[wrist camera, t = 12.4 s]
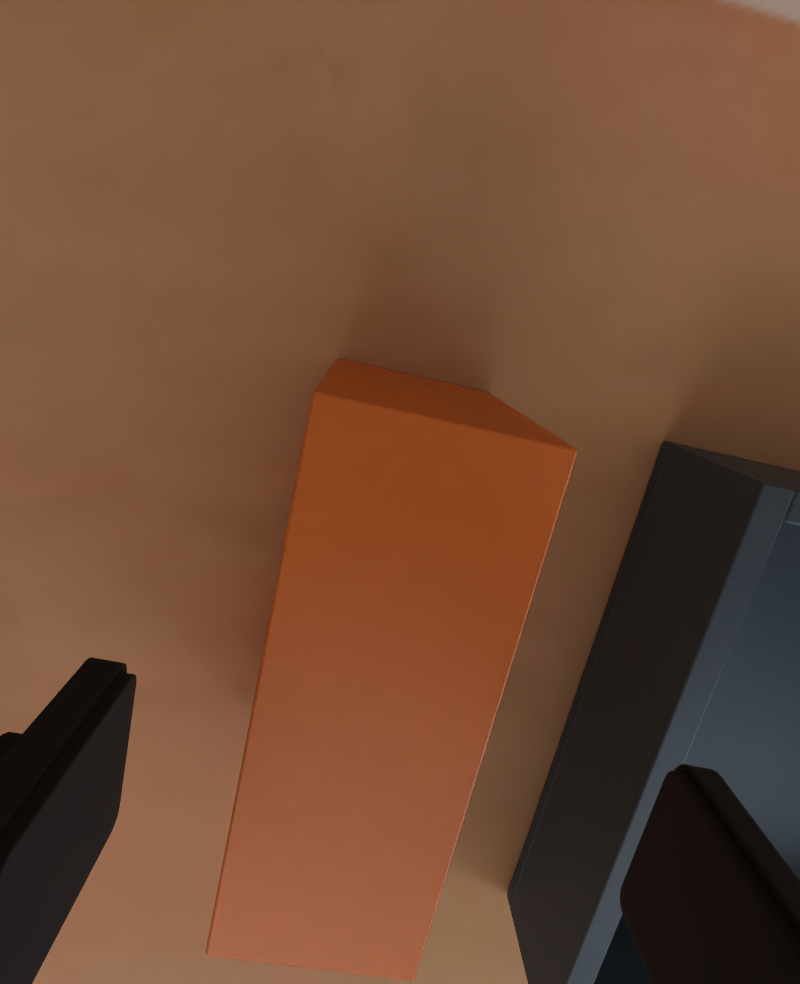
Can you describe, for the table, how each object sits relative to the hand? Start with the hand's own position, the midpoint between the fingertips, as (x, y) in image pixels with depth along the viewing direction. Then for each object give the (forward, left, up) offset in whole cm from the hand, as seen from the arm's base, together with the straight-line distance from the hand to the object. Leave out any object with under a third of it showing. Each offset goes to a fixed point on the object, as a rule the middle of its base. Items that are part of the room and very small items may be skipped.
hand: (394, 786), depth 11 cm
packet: (0, 0, -9) cm, 9 cm away
